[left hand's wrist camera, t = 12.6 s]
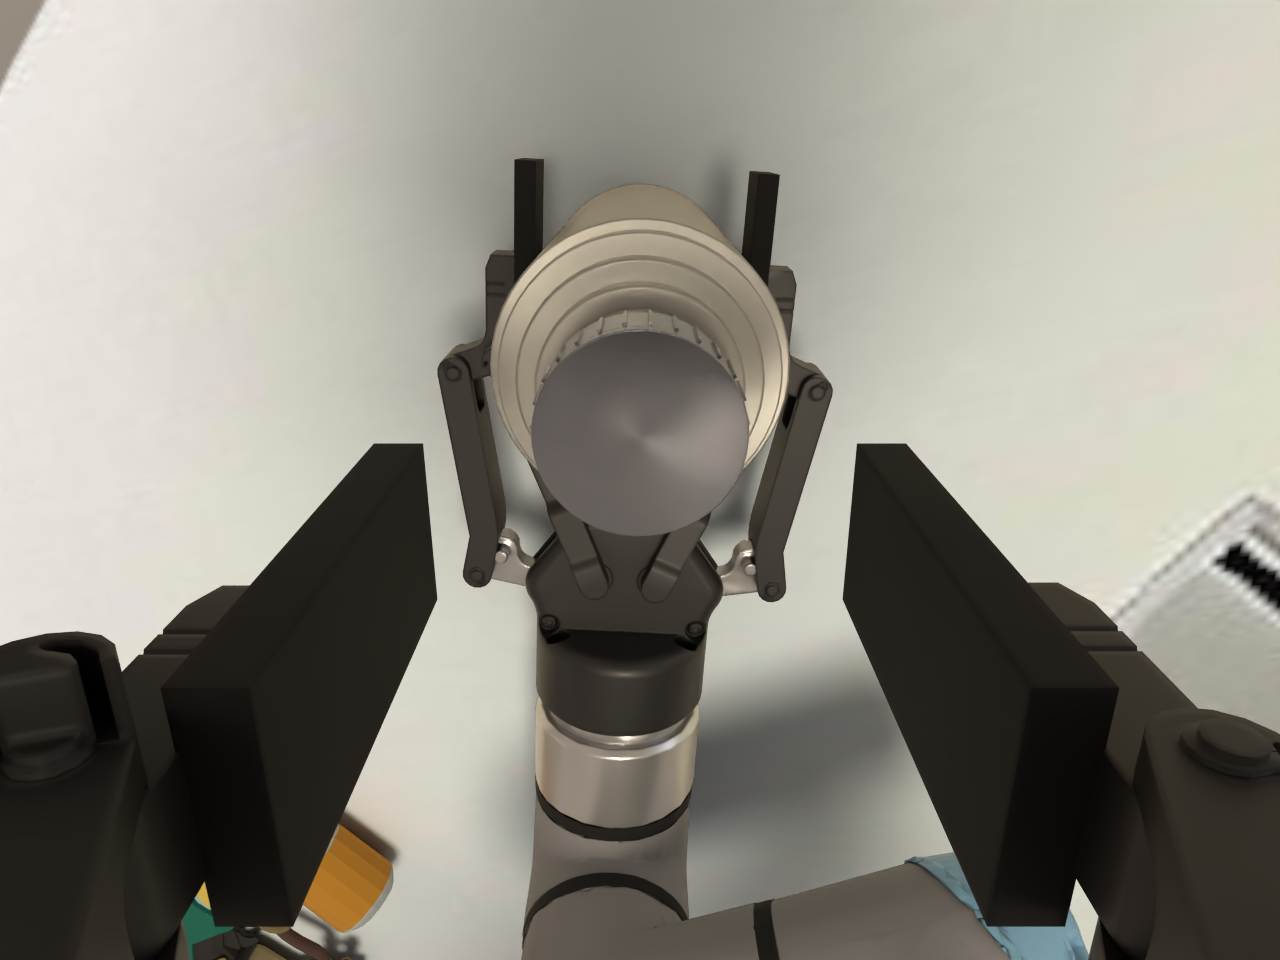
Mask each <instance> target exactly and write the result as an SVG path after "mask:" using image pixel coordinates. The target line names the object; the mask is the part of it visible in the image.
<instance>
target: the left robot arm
mask: <svg viewBox="0 0 1280 960" xmlns="http://www.w3.org/2000/svg"><path fill="white" fill-rule="evenodd" d="M436 601H437V591H436V580H435V569H434V559H433V548H432V537H431V526H430V515H429V505H428V494H427V483H426V472H425V461H424V450H423V444H373V445H372V447H371V448H370V449H369V450H368V451H367V452H366V453H365V455H364V456H363V457H362V458H361V459H360V460H359V461H358V463H357V464H356V465H355V466H354V467H353V468H352V469H351V471H350V472H349V473H348V474H347V475H346V476H345V477H344V479H343V480H342V481H341V482H340V483H339V484H338V485H337V487H336V488H335V489H334V490H333V491H332V492H331V493H330V495H329V496H328V497H327V498H326V499H325V500H324V501H323V503H322V504H321V505H320V506H319V507H318V508H317V509H316V511H315V512H314V513H313V514H312V515H311V516H310V517H309V519H308V520H307V521H306V522H305V523H304V524H303V525H302V527H301V528H300V529H299V530H298V531H297V532H296V533H295V535H294V536H293V537H292V538H291V539H290V540H289V541H288V543H287V544H286V545H285V546H284V547H283V548H282V549H281V551H280V552H279V553H278V554H277V555H276V556H275V557H274V559H273V560H272V561H271V562H270V563H269V564H268V565H267V567H266V568H265V569H264V570H263V571H262V572H261V573H260V575H259V576H258V577H257V578H256V579H255V580H254V581H253V583H252V584H251V585H250V586H221V587H219V588H217V589H216V590H214V591H212V592H210V593H209V594H207V595H205V596H203V597H201V598H200V599H198V600H196V601H194V602H192V603H191V604H189V605H187V606H186V607H185V608H184V609H183V610H182V611H181V612H180V613H179V614H178V615H177V616H176V617H175V618H174V619H173V620H172V621H171V622H170V623H169V624H168V625H167V626H166V627H165V628H164V629H163V634H158V636H157V637H156V638H155V639H154V640H153V641H152V642H151V643H150V644H149V645H148V646H147V647H146V648H145V649H144V654H143V655H138V656H137V657H136V658H135V659H134V660H133V661H132V662H131V663H130V664H129V665H128V666H127V667H126V668H125V669H124V670H123V671H121V667H120V663H119V659H118V655H117V651H116V647H115V644H114V643H112V642H111V641H109V640H108V639H106V638H105V637H103V636H102V635H97V634H91V633H84V632H78V631H77V632H63V633H49V634H43V635H38V636H34V637H30V638H25V639H21V640H16V641H12V642H9V643H7V644H4V645H1V646H0V960H189V959H190V957H189V950H188V943H187V937H186V933H185V929H184V925H183V921H182V919H183V918H184V916H185V914H186V912H187V911H188V909H189V907H190V906H191V904H192V902H193V901H194V899H195V897H196V895H197V894H198V892H199V890H200V889H201V887H202V885H203V883H204V882H205V886H206V890H207V894H208V899H209V903H210V908H211V912H212V916H213V921H214V925H215V927H293V925H294V923H295V921H296V919H297V916H298V914H299V912H300V910H301V907H302V905H303V903H304V900H305V898H306V896H307V894H308V891H309V889H310V887H311V885H312V882H313V880H314V878H315V876H316V873H317V871H318V869H319V866H320V864H321V862H322V860H323V857H324V855H325V853H326V851H327V848H328V846H329V844H330V841H331V839H332V837H333V835H334V832H335V830H336V828H337V826H338V823H339V821H340V819H341V817H342V814H343V812H344V810H345V807H346V805H347V803H348V801H349V798H350V796H351V794H352V792H353V789H354V787H355V785H356V783H357V780H358V778H359V776H360V773H361V771H362V769H363V767H364V764H365V762H366V760H367V758H368V755H369V753H370V751H371V749H372V746H373V744H374V742H375V739H376V737H377V735H378V733H379V730H380V728H381V726H382V724H383V721H384V719H385V717H386V714H387V712H388V710H389V708H390V705H391V703H392V701H393V699H394V696H395V694H396V692H397V690H398V687H399V685H400V683H401V680H402V678H403V676H404V674H405V671H406V669H407V667H408V665H409V662H410V660H411V658H412V656H413V653H414V651H415V649H416V646H417V644H418V642H419V640H420V637H421V635H422V633H423V631H424V628H425V626H426V624H427V621H428V619H429V617H430V615H431V612H432V610H433V608H434V606H435V603H436ZM843 601H844V603H845V606H846V608H847V610H848V612H849V615H850V617H851V619H852V621H853V624H854V626H855V628H856V631H857V633H858V635H859V637H860V640H861V642H862V644H863V646H864V649H865V651H866V653H867V656H868V658H869V660H870V662H871V665H872V667H873V669H874V671H875V674H876V676H877V678H878V680H879V683H880V685H881V687H882V690H883V692H884V694H885V696H886V699H887V701H888V703H889V705H890V708H891V710H892V712H893V714H894V717H895V719H896V721H897V724H898V726H899V728H900V730H901V733H902V735H903V737H904V739H905V742H906V744H907V746H908V749H909V751H910V753H911V755H912V758H913V760H914V762H915V764H916V767H917V769H918V771H919V773H920V776H921V778H922V780H923V783H924V785H925V787H926V789H927V792H928V794H929V796H930V798H931V801H932V803H933V805H934V807H935V810H936V812H937V814H938V817H939V819H940V821H941V823H942V826H943V828H944V830H945V832H946V835H947V837H948V839H949V841H950V844H951V846H952V848H953V851H954V853H955V855H956V857H957V860H958V862H959V864H960V866H961V869H962V871H963V873H964V876H965V878H966V880H967V882H968V885H969V887H970V889H971V891H972V894H973V896H974V898H975V900H976V903H977V905H978V907H979V910H980V912H981V914H982V916H983V919H984V921H985V923H986V925H987V927H1065V925H1066V921H1067V916H1068V912H1069V908H1070V903H1071V899H1072V894H1073V890H1074V886H1075V881H1076V879H1077V881H1078V882H1079V884H1080V886H1081V887H1082V889H1083V891H1084V892H1085V894H1086V896H1087V897H1088V899H1089V901H1090V903H1091V904H1092V906H1093V908H1094V909H1095V911H1096V913H1097V914H1098V916H1099V917H1098V921H1097V925H1096V929H1095V933H1094V937H1093V941H1092V946H1091V950H1090V954H1089V958H1088V960H1280V734H1278V733H1277V732H1275V731H1272V730H1270V729H1268V728H1266V727H1263V726H1261V725H1259V724H1256V723H1254V722H1252V721H1250V720H1247V719H1245V718H1241V717H1238V716H1234V715H1230V714H1226V713H1222V712H1219V711H1215V710H1208V709H1198V708H1197V707H1196V706H1195V705H1194V704H1193V703H1192V702H1191V701H1190V700H1189V699H1188V698H1187V697H1186V696H1185V695H1184V694H1183V693H1182V692H1181V691H1180V690H1179V689H1178V688H1177V687H1176V686H1175V685H1174V684H1173V683H1172V682H1171V681H1170V679H1169V678H1168V677H1167V676H1166V675H1165V674H1164V673H1163V672H1162V671H1161V670H1160V669H1159V668H1158V667H1157V666H1156V665H1155V664H1154V663H1153V662H1152V661H1151V660H1150V659H1149V658H1148V657H1147V656H1146V655H1145V654H1144V653H1143V652H1142V651H1137V646H1136V645H1135V644H1134V643H1133V642H1132V641H1131V640H1130V639H1129V638H1128V637H1127V636H1126V635H1125V634H1124V633H1123V632H1122V631H1118V629H1117V628H1118V626H1117V625H1116V624H1115V623H1114V622H1113V621H1112V620H1111V619H1110V618H1109V617H1108V616H1107V615H1106V614H1105V613H1104V612H1103V611H1102V610H1101V609H1100V608H1099V607H1098V606H1097V605H1096V604H1095V603H1094V602H1092V601H1090V600H1088V599H1086V598H1085V597H1083V596H1081V595H1079V594H1077V593H1076V592H1074V591H1072V590H1070V589H1068V588H1067V587H1065V586H1063V585H1061V584H1059V583H1027V581H1026V580H1025V579H1024V578H1023V577H1022V576H1021V575H1020V573H1019V572H1018V571H1017V570H1016V569H1015V568H1014V567H1013V565H1012V564H1011V563H1010V562H1009V561H1008V560H1007V559H1006V557H1005V556H1004V555H1003V554H1002V553H1001V552H1000V551H999V549H998V548H997V547H996V546H995V545H994V544H993V543H992V541H991V540H990V539H989V538H988V537H987V536H986V535H985V533H984V532H983V531H982V530H981V529H980V528H979V527H978V525H977V524H976V523H975V522H974V521H973V520H972V519H971V517H970V516H969V515H968V514H967V513H966V512H965V511H964V509H963V508H962V507H961V506H960V505H959V504H958V503H957V501H956V500H955V499H954V498H953V497H952V496H951V495H950V493H949V492H948V491H947V490H946V489H945V488H944V487H943V485H942V484H941V483H940V482H939V481H938V480H937V479H936V477H935V476H934V475H933V474H932V473H931V472H930V471H929V469H928V468H927V467H926V466H925V465H924V464H923V463H922V461H921V460H920V459H919V458H918V457H917V456H916V455H915V453H914V452H913V451H912V450H911V449H910V448H909V447H908V445H907V444H857V450H856V461H855V472H854V483H853V494H852V505H851V515H850V526H849V537H848V548H847V559H846V569H845V580H844V591H843Z"/></svg>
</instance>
